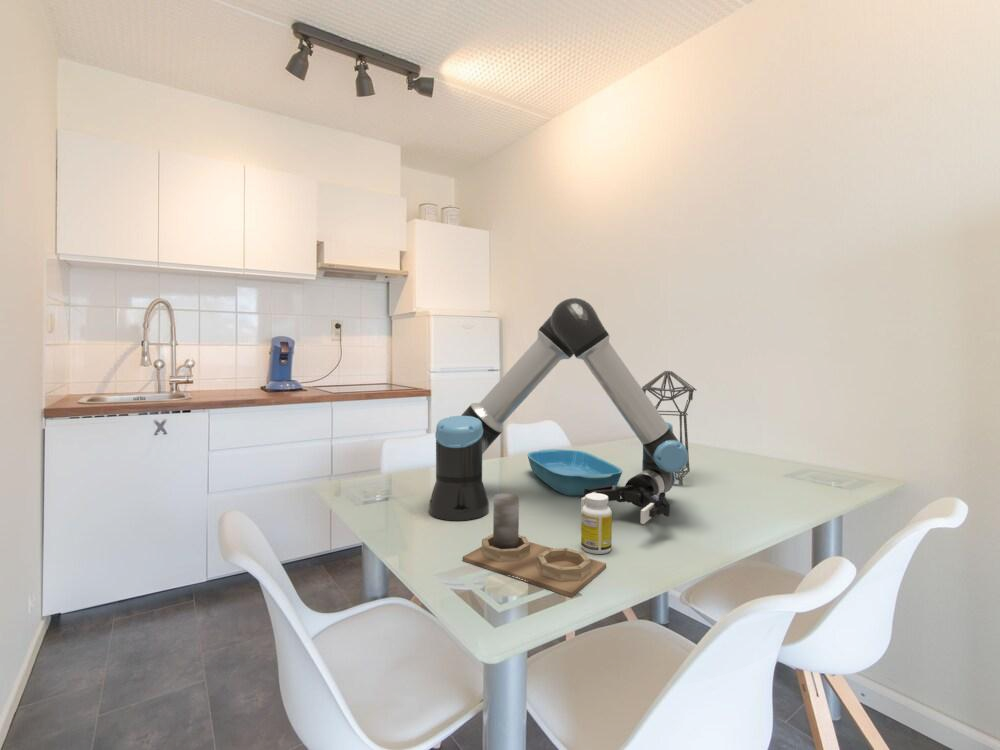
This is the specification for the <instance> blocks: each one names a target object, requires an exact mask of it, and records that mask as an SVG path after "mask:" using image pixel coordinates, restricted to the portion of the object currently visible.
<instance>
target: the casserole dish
mask: <svg viewBox="0 0 1000 750" xmlns="http://www.w3.org/2000/svg"><path fill="white" fill-rule="evenodd" d="M527 457H528V462H529V465H530V469H531V470H532V472H533V474H534V475H535V476H536V477H538V478H539V479H540V480H542V481H543V482H544V483H545V484H547V485H548V486H550V487H551V488H552V489H553V490H555V491H557V492H558V493H560V494H562V495H566V496H572V497H573V496H584V489H587V488H594V487H600V486H606V485H609V484H615V487H618V483H619V481H620V479H621V477H622V474H623V470H622V468H620V467H619V466H617V465H615V464H613V463H611V462H610V461H609V462H608V461H607V460H604V459H602V458H600V457H598V456H596V455H594V454H592V453H590V452H586V451H583V450H577V449H559V448H558V449H556V448H552V449H551V448H549V449H540V450H535V451H530V452H528V454H527Z"/></svg>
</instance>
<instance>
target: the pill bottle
mask: <svg viewBox="0 0 1000 750" xmlns="http://www.w3.org/2000/svg"><path fill="white" fill-rule="evenodd" d="M585 503H586V505H584V506H583V508H582V511H581V510H580V511H581V513H580V514H581V516H580V517H581V523H580V525H581V526H580V527H581V529H580V531H581V532H580V534H581V535H580V539H581V540H580V544H581V549H582V550H583V551H585V553H589V554H595V555H604V554H607V553H609V552H610V551H611V550H612V541H613V540H612V539H613V538H612V530H613V528H612V527H613V525H612V524H613V522H612V521H613V520H612V519H613V513H612V510H611V507H610V506H608V504H609V501H608V496H607V495H605V494H600V493H590V494H587V495H586V496H585Z"/></svg>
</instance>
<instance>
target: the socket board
mask: <svg viewBox="0 0 1000 750" xmlns="http://www.w3.org/2000/svg"><path fill="white" fill-rule="evenodd" d="M519 498H520V496H518V495H517V494H514V493H505V492H504V493H497V494H495V495H494V496H493V520H492V521H493V522H492V523H493V527H492V529H493V531H492V532H493V533H492V534H490V535H488V536H486V537H484V538H482V539H481V547H479V548H477V549H475V550H473V551H470V552H469V553H467V554H465V555H463V556H462V561H463V562H464V563H468V564H470V565H474V566H476V567H480V568H484V569H486V570H488V569H489V571H491V570H493V571H492V572H494V571H496V572H495V573H497V572H499V573H498V574H500V573H503V574H506V575H510V576H514V577H518V578H520V579H523V580H526V581H528V582H530V583H531V584H530V583H529V584H530V585H534V586H537V587H539V588H543V589H545V590H548V591H551V592H554V593H557V594H560V595H563V596H566V597H569V598H574V597H575V595H577V594H578V593H579V592H580V591H581V590H583V588H584V587H586V586H587V585H588V584H589V583H590V582H592V581H593V580H594V579H595V578H596V577H597V576H598V575H599V574H600V573H602V572H603V571H604V570H606V569H607V563H606V562H603V561H600V560H595V559H593V558H589V557H588V556H587V554H586V552H583V551H578V550H575V549H573V548H572V549H571V548H568V547H563V548H561V547H560V548H553V547H550V546H545V545H541V544H538V543H535V542H531V541H529V540H528V538H527V537H526V536H523V535H520V534H519V525H520V524H519V519H520V518H519V517H520V516H519V514H520V512H519V511H520V509H519V507H520V505H519V504H520V502H519V501H520V499H519ZM503 574H502V575H503ZM506 575H505V576H506Z"/></svg>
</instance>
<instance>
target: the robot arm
mask: <svg viewBox="0 0 1000 750" xmlns="http://www.w3.org/2000/svg"><path fill="white" fill-rule="evenodd" d="M610 337H611V336H610V334H609V333H608V331H607V330H606V328H605V327H604V324H603V322H602V321H601V320H600V318H599V316H598V313H597V312H596V310H595V309H594V307H593V306H592V305H591V303H589V302H588V301H586V300H584V299H581V298H578V297H573V298H567V299H564V300H562V301H560V302H559V303H558V304H557V305H556V306H555V307H554V309H553V311H552V313H551V315H550V316H549V317H548V318H547V319H546V320H545V321H544V322H543V324H542V325H541V326H540V327H539V328H538V329H537V339H536V340H535V341H534V342H533V343H532V344H531V346H529V348H528V349H527V350H526V351H525V352H523V355H521V357H519V359H518V360H517V361H516V362H515V363H514V364H513V365H512V366H511V367H510V368H509V370H508V371H507V372H506V373H505V374H504V376H503V377H502V378H501V379H500V380H499V381H498V382H497V383H496V384H495V385H494V386H493V387H492V388H491V390H490V391H489V392H488V393H487V394H486V395H485V396H484V397H483V399H482V400H481V401H480V402H472V403H471V404H470V405H469V406H468V407H467V408H466V409H465V411H463V413H461V415H451V416H449V417H445V418H442V419H440V420H439V421H438V422H437V424H436V427H435V428H436V429H435V430H436V431H435V433H434V434H435V483H434V486H433V490H432V493H431V497H430V499H429V503H428V513H429V514H430V516H432V517H434V518H437V519H440V520H445V521H469V520H474V519H479V518H482V517H483V516H486V515H487V514H488V513H489V511H490V510H489V509H490V504H489V503H490V501H489V499H488V497H487V493H486V489H485V485H484V481H483V454H484V453H485V452H487V450H488V449H489V448H490V446H491V445H492V444H493V443H494V442H495V440H497V438H499V436H500V435H501V434H502V433H503V431H504V429H503V428H504V427H503V426H504V425H503V424H504V423H505V422H506V420H507V419H508V418H509V417H510V416H511V415H512V414H513V413H514V412H515V410H517V409H518V407H520V405H521V404H522V403H523V402H524V401H525V400H526V399H527V398H528V397H529V396H530V395H531V393H532V392H533V391H534V390H535V389H536V388H537V386H539V384H540V383H541V382H542V381H544V379H545V378H546V377H547V376H548V375H549V373H551V372H552V371H553V369H554V368H555V367H556V366H557V365H558V364H559V363H560V361H562V360H570V359H571V358H572V357H573V356H574V357H575V358H576V359H578V360H582V361H583V362H584V364H585V365H586V366H587V368H588V369H589V371H590V372H591V374H592V375H593V377H594V378H595V380H596V381H597V383H599V385H600V386H601V387H602V389H603V390H604V392H605V394H606V395H607V397H609V399H610V400H611V402H612V404H613V405H614V406H615V407H616V409H617V410H618V412H619V413H620V415H621V416H622V417H623V419H624V420H625V422H626V423H627V425H628V426H629V428H630V429H631V430H632V432H633V433H634V434H635V436H636V437H637V438H638V440H639V441H640V443H641V444H642V467H641V468H642V469H641V470H642V471H640V472H639V473H637V474H635V475H634V476H633V477H631V478H629V479H628V481H626V484H625V485H624V486H616V487H615V484H609V485H606V486H600V487H594V488H587V489H584V495H583V497H581V498H580V511H582V508H583V506H584V505H586V503H585V496H586V495H587V494H590V493H600V494H605V495H607V496H608V502H613V501H616V502H617V503H625V502H626V503H629V504H632V505H634V506H636V507H638V508H639V507H640V508H642V509H641V510H640V524H642V525H645V524H646V523H647V522H648V521H649V520H651V519H652V518H656V517H657V516H661V514H662V515H663V516H664V517H670V513H671V510H670V509H671V504H670V503H669V501H668V500H667V498H666V493H668V492H670V490H671V489H672V487H674V486H675V485H674V484H676V480H677V479H676V477H677V476H676V477H675V473H674V472H678V471H681V470H682V469H683V468H685V467H686V464H687V462H688V453H689V451H688V452H687V450H686V448H685V444H683V442H682V443H680V440H679V439H678V438H677V437H676V435H675V434H674V430H673V424H671V423H670V422H668V421H667V422H666V420H665V419H664V418H663V417H662V415H660V414H661V413H660V412H658V411H659V410H658V408H657V409H656V408H655V405H654V404H653V402H652V401H651V400H650V398H649V397H648V395H647V394H645V392H644V391H643V390H642V387H641V385H640V384H639V382H638V381H637V380H636V378H635V377H634V376H633V374H632V372H631V371H630V370H629V368H628V367H627V366H626V364H625V363H624V361H623V360H622V358H621V357H620V355H619V354H618V353H617V352H616V350H615V348H614V347H613V345H611V342H610Z"/></svg>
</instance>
